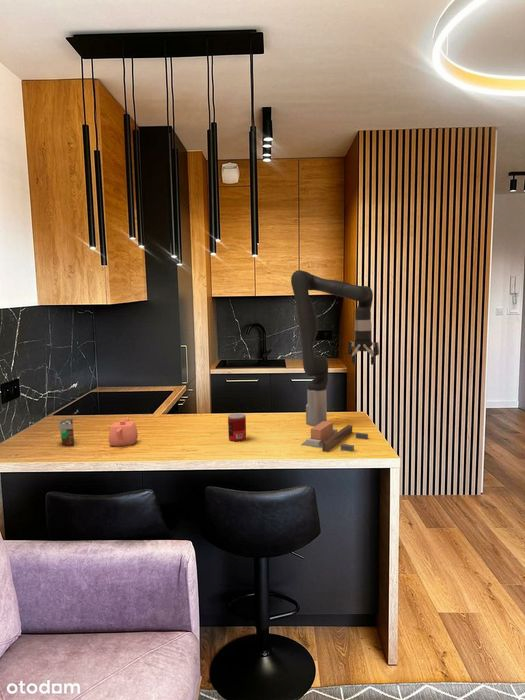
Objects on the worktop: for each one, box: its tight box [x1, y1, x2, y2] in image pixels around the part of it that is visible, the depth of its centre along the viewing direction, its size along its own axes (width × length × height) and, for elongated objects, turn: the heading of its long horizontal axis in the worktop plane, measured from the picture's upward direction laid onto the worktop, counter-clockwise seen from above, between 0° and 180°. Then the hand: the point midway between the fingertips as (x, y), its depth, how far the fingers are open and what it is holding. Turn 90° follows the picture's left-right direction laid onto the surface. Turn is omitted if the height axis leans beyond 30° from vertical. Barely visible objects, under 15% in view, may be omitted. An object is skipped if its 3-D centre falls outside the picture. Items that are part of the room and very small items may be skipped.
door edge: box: [321, 424, 353, 453], centre depth 222 cm, size 2×30×4 cm, turn 151°
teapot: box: [108, 416, 139, 447], centre depth 227 cm, size 12×18×10 cm, turn 1°
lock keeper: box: [300, 427, 338, 449], centre depth 226 cm, size 10×22×2 cm, turn 150°
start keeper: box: [340, 431, 369, 452], centre depth 218 cm, size 5×20×2 cm, turn 150°
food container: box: [57, 417, 75, 447], centre depth 228 cm, size 12×6×10 cm, turn 21°
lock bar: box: [310, 420, 334, 443], centre depth 225 cm, size 4×14×6 cm, turn 150°
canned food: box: [227, 412, 247, 443], centre depth 228 cm, size 8×8×11 cm
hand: (363, 364), depth 239 cm, fingers open, 8 cm apart
